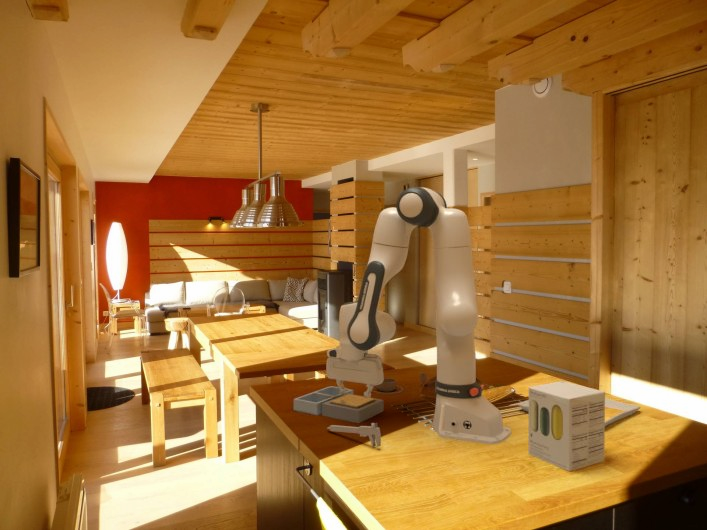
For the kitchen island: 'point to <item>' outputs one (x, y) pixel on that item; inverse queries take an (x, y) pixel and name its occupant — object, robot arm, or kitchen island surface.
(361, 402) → the button
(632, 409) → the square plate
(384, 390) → the place setting
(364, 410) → the square frame
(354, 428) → the caliper
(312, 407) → the tray
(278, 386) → the kitchen island surface
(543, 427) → the supplement box
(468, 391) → the robot arm
